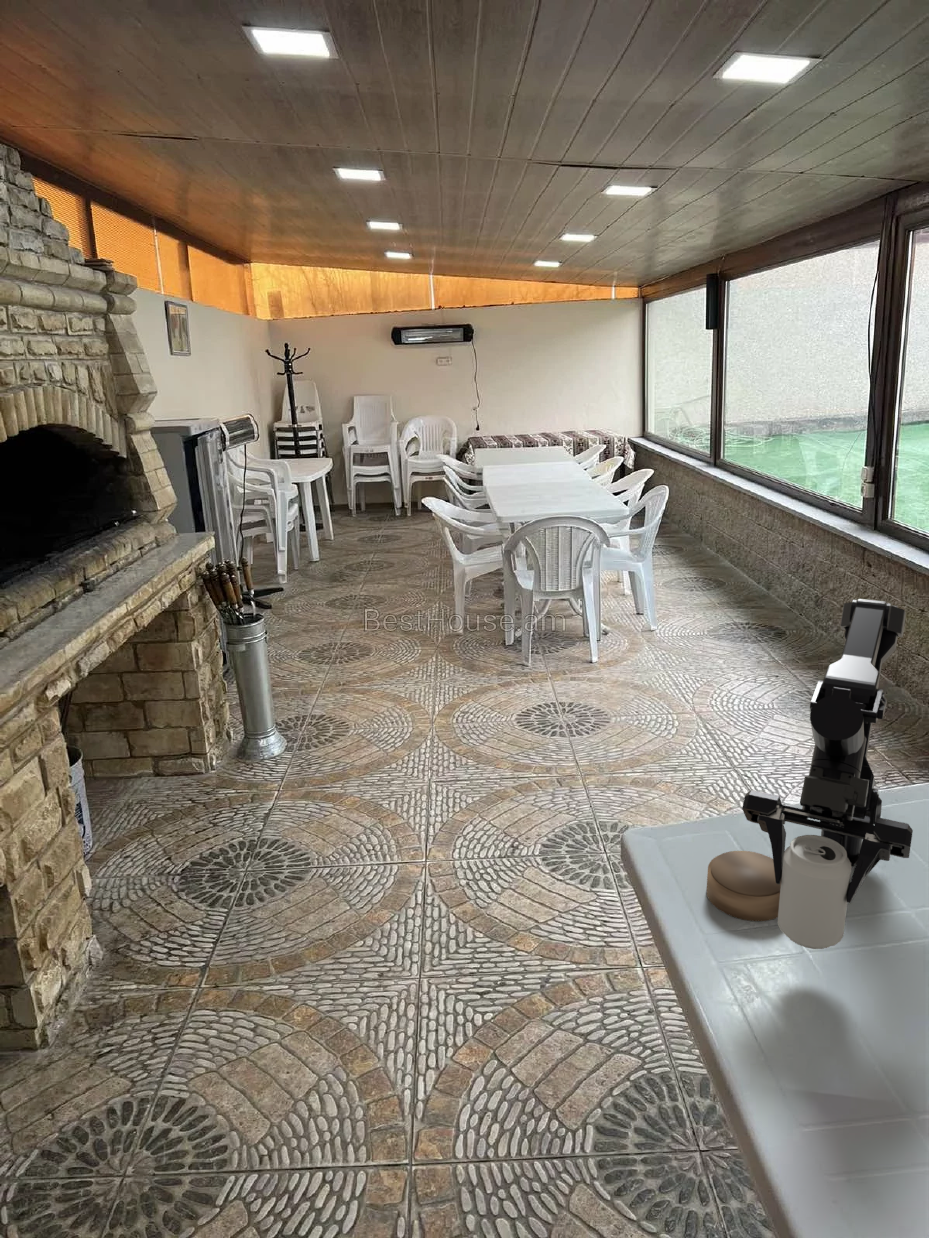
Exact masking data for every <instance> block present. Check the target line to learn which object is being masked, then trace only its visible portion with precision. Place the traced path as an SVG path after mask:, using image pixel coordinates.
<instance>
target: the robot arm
mask: <svg viewBox="0 0 929 1238" xmlns="http://www.w3.org/2000/svg"><path fill="white" fill-rule="evenodd" d="M842 606H843V607H842V613H841V618H840V620H841V621H840V629H841V630H842V631H845V632H844V639H845V642H844V645H843V649H842V653H841V656H840V659H838V660H837V661H835V662H833V663H831V664H829V665H828V666H827V668H826V671H825V674H824V677H823V680H821V679H818V681H817V684H816V687H815V690H814V692H813V695H812V698H811V700H810V704H809V710H810V712H809V721H810V726H811V732H812V738H813V742H814V748H813V752H812V757H811V763H810V767H809V772H808V775H805V776H804V780H803V785H802V789H801V795H800V800H799V804H800V807H801V806H802V807H801V808H799V807H793V806H789V805H783V803H782V800H781V796H780V795H777V794H774V793H768V792H764V791H758V790H755V789H751V790H749V791H748V792H746V793H745V796H744V798H743V804H742V806H741V807H742V809H741V810H742V812H743V814H744V816H745V818H746V821H749V822H750V823H754V824H757V825H759V827H760V828H759V829H760V830H761V831H762V832H765V833H768V838H769V841H770V846H771V851H772V853H771V854H772V859H773V863H774V872H775V880H776V884H779V885H780V882H781V878H782V867H783V856H784V851H785V850H786V838H787V832H786V829H785V825H786V822H787V823H791V824H796V825H799V826H800V825H801V826H805V827H808V828H814V829H818V830H821V831H820V836H823V837H826V838H830V839H832V840H834V841H836V842H838V843H839V844H840V845H841V846H843V847H844V849H845V850H846V852H847V857H848V859H849V860H850V862H851V868H852V867H854V869H853V872H852V874H851V875H852V877H851V878H850V885H849V888H848V894H847V904H851V903H852V901H853V900H854V898H855V897H856V894H858V891H859V889H860V888H861V886H862V885H863V883H864V881H865V879H866V878H867V876H868V875H869V873H871V872H872V870H873V869H874V868H875V867H876V865H877V864H878V863H879V862H880V861H885V862H888V861H890V859H891V856H894V857H898V858H903V859H909V858H910V853H911V846H912V840H913V831H914V829H912V827H911V826H910V824H909V823H907V822H901V821H897V820H892V819H887V818H883V817H881V816H882V806H883V804H882V803H883V801H882V799H881V797H880V793H879V789H878V788H875V783H876V779H875V778H876V777H875V776H874V773H873V770H872V767H871V766H870V763H869V761H868V752H869V746H870V740H871V735H872V728H873V724H877V723H878V720H883V719H884V715H885V713H886V709H887V703H888V702H887V701H888V699H887V698H886V697H885V695H886V694H885V692H884V689H881V688H879V685H880V684H879V683H880V677H881V672H882V665H883V664H884V663H885V662H886V661H887V660H888V659H889V658H890V657H891V655H892V654H893V653H895V651H896V649H897V643H898V638H903V636H904V631H905V626H906V618H907V617H906V615H907V613H906V610H905V609H902V608H899V606H898V605H893V604H892V603H890V602H889V603H888V602H887V601H885V600H879V599H878V600H876V599H868V598H858V599H852V601H851V602H845V603H843V605H842Z"/></svg>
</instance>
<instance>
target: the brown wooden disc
mask: <svg viewBox="0 0 929 1238" xmlns="http://www.w3.org/2000/svg"><path fill="white" fill-rule="evenodd" d="M706 877H707V879H706V895H707V898H708V900H709V902H710V903H711V904H712V905H713V906H714V907H715V908H716V909H717V910H719V911H720V912H722V913H724V914H726V915H727V916H730V917H732V918H736V919H738V920H742V921H748V922H766V921H771V920H775V919H778V911H779V900H780V889H781V882H780V885H779V884H776V880H775V872H774V863H773V857H770V856H768V855H765V854H763V853H759V852H756V851H748V850H733V851H732V850H730V851H727V852H723V853H721V854H719V855H717V856H715V857H713V858H712V859H711V860H710V861H709V863H708V865H707V876H706Z"/></svg>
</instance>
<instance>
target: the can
mask: <svg viewBox="0 0 929 1238" xmlns="http://www.w3.org/2000/svg"><path fill="white" fill-rule="evenodd" d="M851 875H852V867H851V862H850V860H849V859H848V857H847V852H846V850H845V849H844V847H843V846H841V845H840V844H839V843H838V842H836V841H834V840H832V839H830V838H826V837H823V836H821V835H816V834H804V835H799V836H797V837H795V838H793V839H792V840H791V842H790V843H789V846H788V847H786V848H785V851H784V856H783V867H782V878H781V889H780V900H779V911H778V918H777V925H778V927H779V930H780V931H781V933H783V935H785V936H786V937H787V938H788V939H789V940H790V941H792V942H793V943H795V944H796V945H798V946H801V947H803V948H805V949H812V950H824V949H827V948H830V947H833V946H836V945H838V944H839V943H840V942H841V941H842V940H843V938H844V934H845V926H846V917H847V909H848V903H847V894H848V888H849V885H850V882H851V878H852V877H851Z"/></svg>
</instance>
